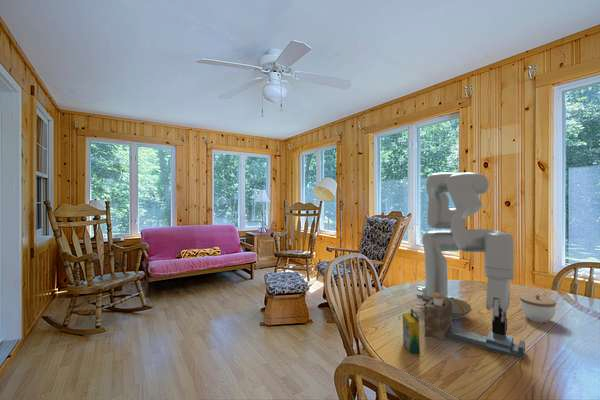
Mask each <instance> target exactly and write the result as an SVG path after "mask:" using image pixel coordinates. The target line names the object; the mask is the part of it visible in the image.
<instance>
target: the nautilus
mask: <svg viewBox="0 0 600 400" xmlns="http://www.w3.org/2000/svg"><path fill="white" fill-rule="evenodd" d="M423 297H424V296H423ZM423 297H422V296H421V297H420V296H418V301H420V302H425V303H424V304H419V303H417V305H418V306H419V305H420V306H423V307H420V311H421V312H424V306H425V305H426V304H428V303H429V302H430V301H431V300H433V299H434V298H432V297H431V298H430V297H425V298H430V299H425V298H423ZM419 299H420V300H419ZM413 300H414V301H417V299H413ZM443 300H444V301H449V302H452V320H453V319H458V318H462V317H465V316H467V315H468V314H470V313H471V311H472V310H473V309H472V307H471V305H470V304H469V303H468V302H467V301H464V300H461V299H458V298H454V297H451V298H443ZM418 306H417V307H416V306H414V308H416V309H419V307H418Z"/></svg>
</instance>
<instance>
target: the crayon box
mask: <svg viewBox="0 0 600 400" xmlns="http://www.w3.org/2000/svg"><path fill="white" fill-rule="evenodd" d="M402 338H403V339H402V342H403V345H405V346H404V347H406V349H407V350H408V352H409V353H410V355H420V354H421V346H420V345H421V344H420V343H421V341H420V339H421V338H420V315H419V314H418V313H416V312H415V310H414V309H413V308H412V307H410V313H407V312H405V313H402Z"/></svg>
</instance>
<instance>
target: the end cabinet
mask: <svg viewBox="0 0 600 400" xmlns="http://www.w3.org/2000/svg"><path fill="white" fill-rule="evenodd" d="M425 304H426V305H425V306H423V308H424V311H423V316H424V336H427V337H430V338H433V339H438V340H441V341H444V340H445V339H447V338H446V331H447V330H448V328H449V327H452V328H453V319H452V302H449V301H444V300H443V307H440V306H436V305H434V299H433V300H431V301H430V302H429V303H428V302H427V303H425Z"/></svg>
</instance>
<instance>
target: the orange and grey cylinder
mask: <svg viewBox="0 0 600 400" xmlns="http://www.w3.org/2000/svg"><path fill="white" fill-rule="evenodd" d="M433 297H434V305H436V306H440V307H443V294H442V293H433Z"/></svg>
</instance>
